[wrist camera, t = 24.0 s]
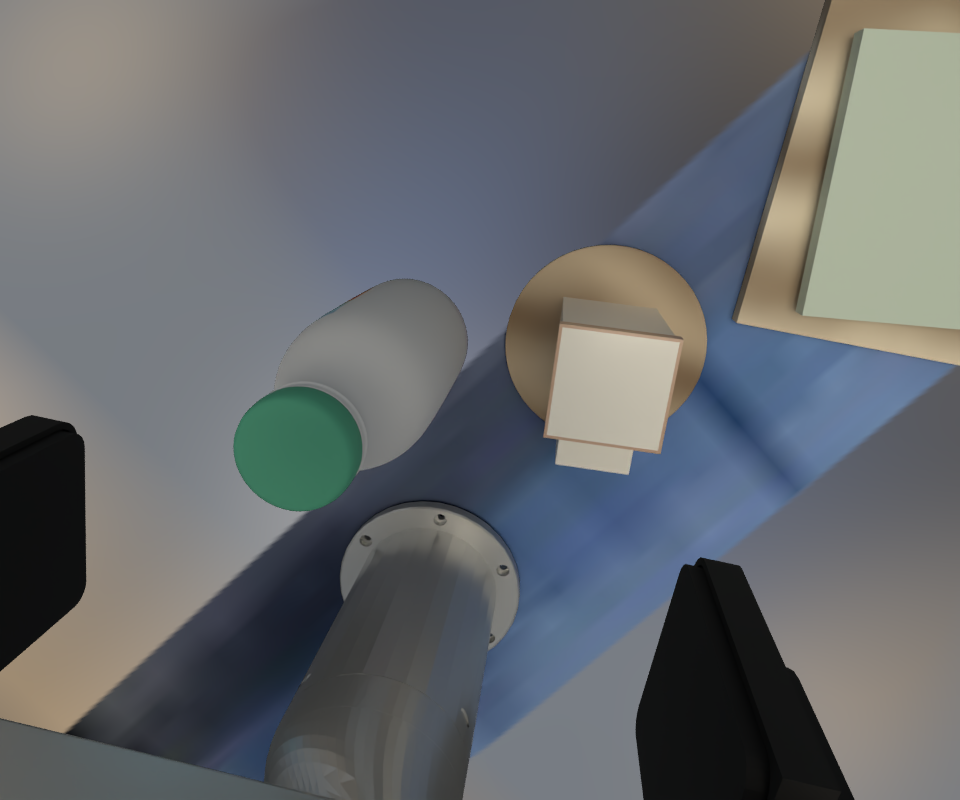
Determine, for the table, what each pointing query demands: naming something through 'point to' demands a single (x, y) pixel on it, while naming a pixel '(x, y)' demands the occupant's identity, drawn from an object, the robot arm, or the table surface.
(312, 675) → the robot arm
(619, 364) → the box with copper trim
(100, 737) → the table surface
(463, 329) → the milk bottle
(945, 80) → the green piece
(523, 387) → the mat
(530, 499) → the table surface
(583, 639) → the table surface
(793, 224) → the stand
